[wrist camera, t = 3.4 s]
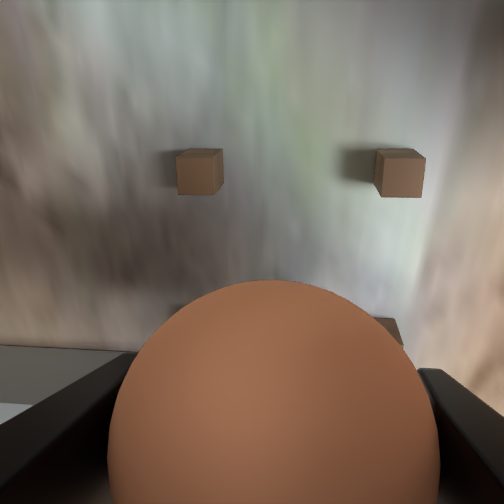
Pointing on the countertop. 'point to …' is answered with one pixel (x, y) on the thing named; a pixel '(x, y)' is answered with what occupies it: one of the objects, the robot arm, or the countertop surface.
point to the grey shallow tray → (42, 373)
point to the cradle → (386, 182)
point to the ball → (272, 406)
